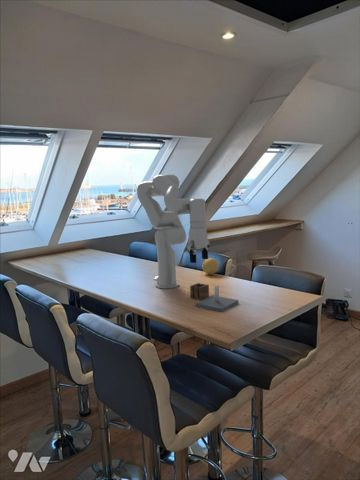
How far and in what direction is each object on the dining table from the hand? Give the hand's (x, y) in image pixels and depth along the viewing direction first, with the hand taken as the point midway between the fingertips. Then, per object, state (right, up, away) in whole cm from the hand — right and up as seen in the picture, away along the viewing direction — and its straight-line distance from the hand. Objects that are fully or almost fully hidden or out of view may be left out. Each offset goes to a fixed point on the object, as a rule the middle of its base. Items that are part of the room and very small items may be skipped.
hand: (199, 260), depth 176 cm
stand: (+8, -19, -9) cm, 23 cm away
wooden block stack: (0, -18, +3) cm, 18 cm away
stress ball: (+9, -11, +48) cm, 50 cm away
